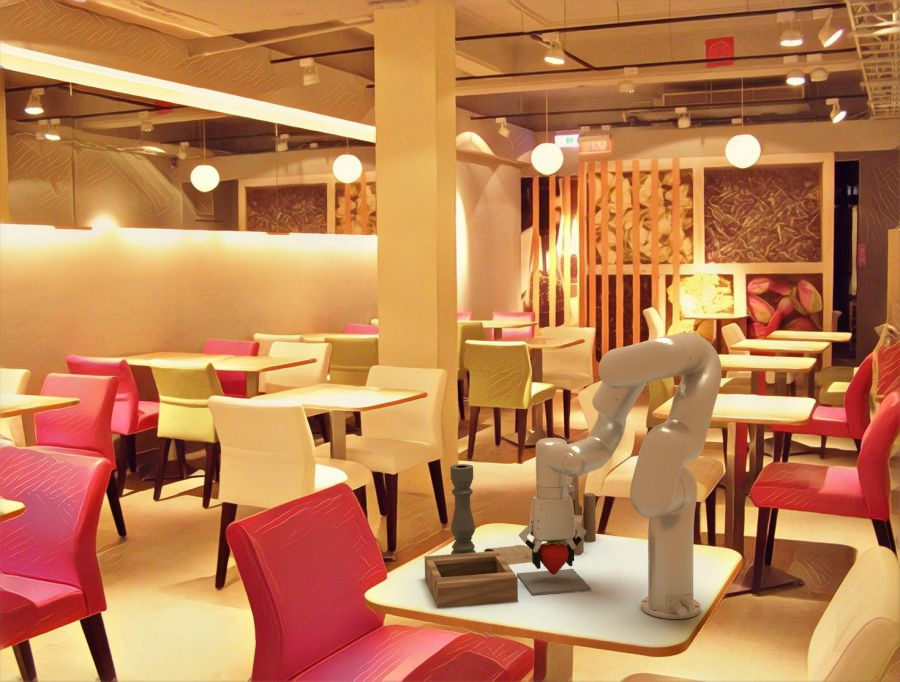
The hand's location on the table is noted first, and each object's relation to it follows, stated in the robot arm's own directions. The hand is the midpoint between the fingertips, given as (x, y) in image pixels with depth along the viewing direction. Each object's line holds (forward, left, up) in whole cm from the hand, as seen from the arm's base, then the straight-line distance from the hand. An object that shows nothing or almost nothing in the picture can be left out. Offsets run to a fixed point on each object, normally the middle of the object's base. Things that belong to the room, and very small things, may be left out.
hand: (553, 565), depth 225 cm
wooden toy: (+26, -14, -5) cm, 30 cm away
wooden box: (0, +20, -4) cm, 21 cm away
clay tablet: (+22, +5, -5) cm, 23 cm away
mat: (0, 0, -4) cm, 4 cm away
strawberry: (0, 0, -2) cm, 2 cm away
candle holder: (+18, +18, -4) cm, 26 cm away
